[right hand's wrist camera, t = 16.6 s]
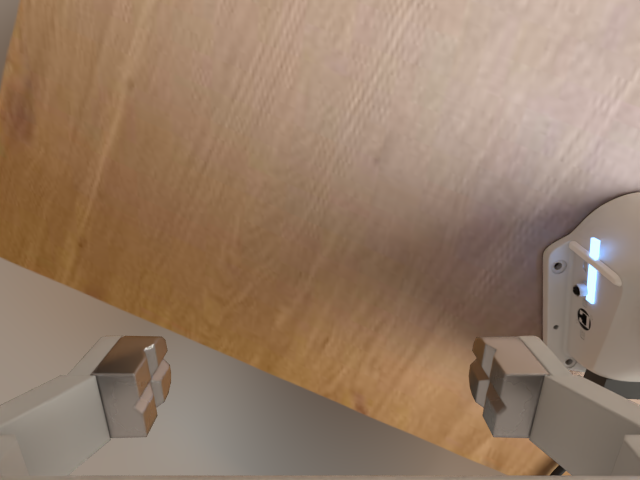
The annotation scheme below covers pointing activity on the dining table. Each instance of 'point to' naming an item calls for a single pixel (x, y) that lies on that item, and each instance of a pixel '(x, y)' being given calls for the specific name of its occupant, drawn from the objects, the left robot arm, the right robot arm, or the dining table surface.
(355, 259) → the dining table surface
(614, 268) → the right robot arm
